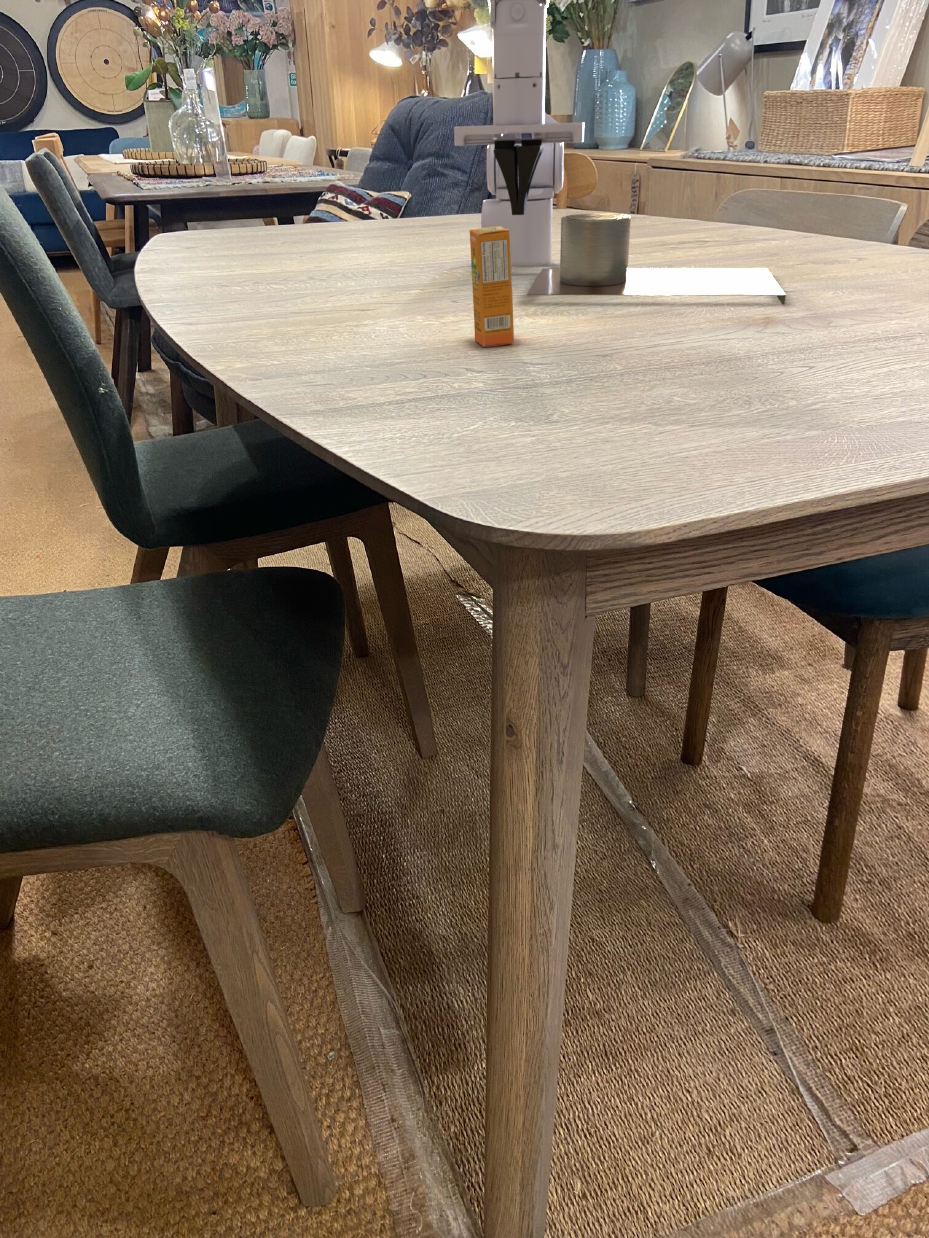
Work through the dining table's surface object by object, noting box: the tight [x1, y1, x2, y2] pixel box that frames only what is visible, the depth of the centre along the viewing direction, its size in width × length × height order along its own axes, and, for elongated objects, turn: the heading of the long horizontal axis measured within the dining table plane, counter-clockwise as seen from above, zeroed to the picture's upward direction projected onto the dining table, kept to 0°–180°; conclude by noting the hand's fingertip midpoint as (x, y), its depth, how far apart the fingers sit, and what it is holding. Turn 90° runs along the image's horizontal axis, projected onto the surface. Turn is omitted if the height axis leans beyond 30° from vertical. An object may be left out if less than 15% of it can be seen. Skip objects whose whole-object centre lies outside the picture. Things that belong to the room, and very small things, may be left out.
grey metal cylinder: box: [559, 212, 632, 286], centre depth 104 cm, size 8×8×7 cm
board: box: [526, 267, 787, 305], centre depth 105 cm, size 28×18×1 cm, turn 80°
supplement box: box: [468, 226, 515, 348], centre depth 82 cm, size 3×3×10 cm
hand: (518, 214), depth 104 cm, fingers closed
